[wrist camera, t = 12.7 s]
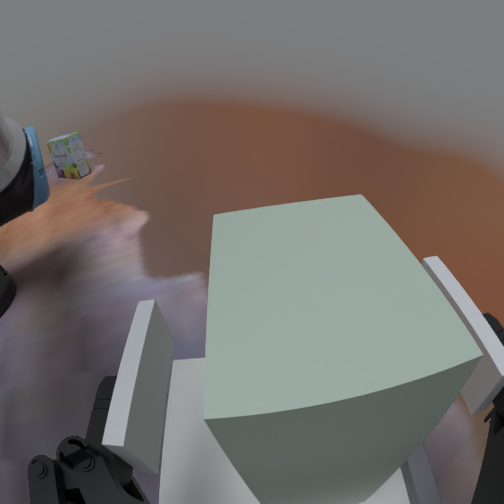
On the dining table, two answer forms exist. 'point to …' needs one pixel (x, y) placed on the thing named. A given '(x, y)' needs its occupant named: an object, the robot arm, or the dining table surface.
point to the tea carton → (324, 350)
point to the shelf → (221, 469)
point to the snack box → (69, 156)
